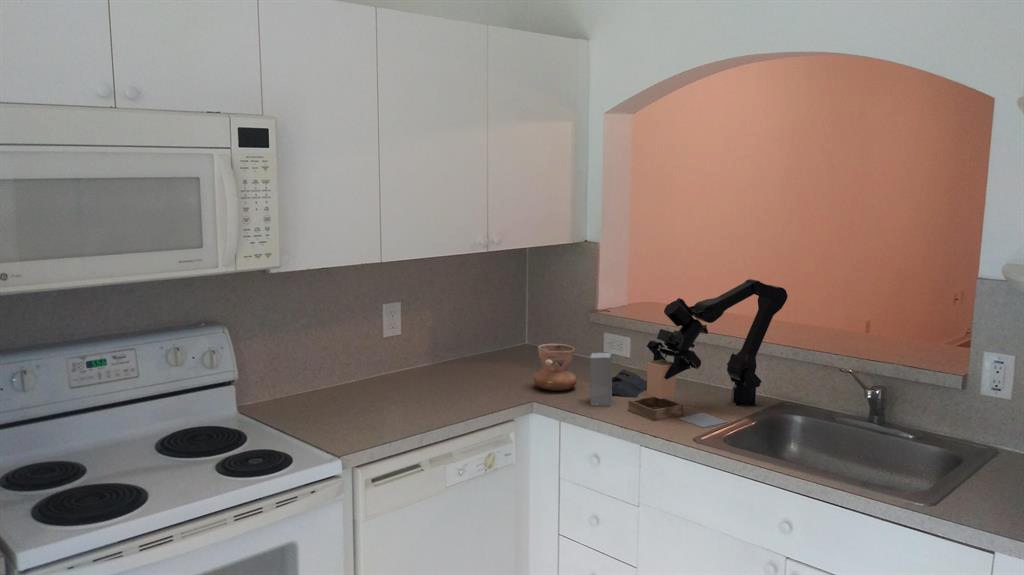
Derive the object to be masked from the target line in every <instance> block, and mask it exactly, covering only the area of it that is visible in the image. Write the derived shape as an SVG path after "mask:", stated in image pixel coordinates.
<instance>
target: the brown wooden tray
mask: <svg viewBox="0 0 1024 575" xmlns="http://www.w3.org/2000/svg"><path fill="white" fill-rule="evenodd" d="M627 404H628V407H627V409H628V411H629V412H630V413H633V414H636V415H638V416H641V417H643V418H646V419H648V420H651V421H653V422H654V421H661V420H666V419H670V418H674V417H678V416H683V415H684V404H682V403H679V402H677V401H674V400H671V399H669V398H663V399H659V398H656V397H653V396H648V397H642V398H641V397H640V398H637V399H632V400H628V402H627Z"/></svg>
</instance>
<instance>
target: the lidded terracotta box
mask: <svg viewBox="0 0 1024 575" xmlns="http://www.w3.org/2000/svg"><path fill="white" fill-rule="evenodd" d="M673 362H674V361H673ZM673 362H672V361H669V360H667V359H666V360H663V359H661V360H655V361H653V360H651V361H648V362H647V370H646V371H647V374H646V376H647V378H646V381H647V390H646V395H648V396H650V397H652V396H653V397H656V398H659V399H663V398H665V399H669V398H672V397H673V398H674V397H676V389H677V386H676V385H677V384H676V383H677V382H676V381H677V374H676V375H674V376H673V377H671V378H669V379H665V375H666V373H667V371H668V370H669V368H670V367H671V365H672V364H673Z"/></svg>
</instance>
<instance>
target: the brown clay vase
mask: <svg viewBox="0 0 1024 575" xmlns="http://www.w3.org/2000/svg"><path fill="white" fill-rule="evenodd" d="M575 351H576V350H575V348H574V346H571V345H569V344H564V343H546V344H545V343H544V344H541V345H538V346H537V352H538V357H539V360H540V363H541V366H542V368H541V369H540V370H538V371H537V372H536V373H535V374H534V376H533V382H534V384H535V386H537V387H538V388H540V389H543V390H546V391H551V392H560V391H561V392H562V391H568V390H570V389H572V388H573V387H575V386H576V385H577V381H578V380H577V376H576V375H575V374H574V373H573V372H572V371H570V370H569V367H570V365H571V363H572V361H573V358H574V355H575Z"/></svg>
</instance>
